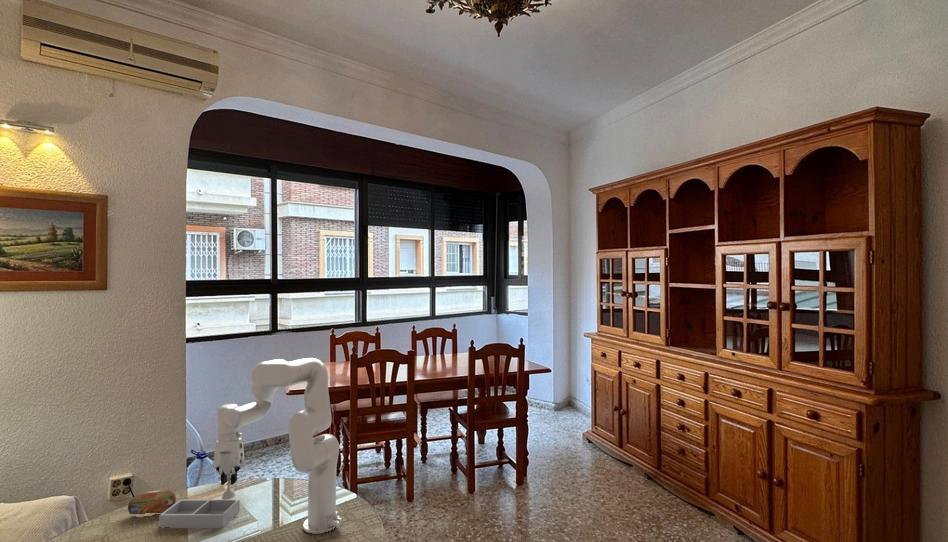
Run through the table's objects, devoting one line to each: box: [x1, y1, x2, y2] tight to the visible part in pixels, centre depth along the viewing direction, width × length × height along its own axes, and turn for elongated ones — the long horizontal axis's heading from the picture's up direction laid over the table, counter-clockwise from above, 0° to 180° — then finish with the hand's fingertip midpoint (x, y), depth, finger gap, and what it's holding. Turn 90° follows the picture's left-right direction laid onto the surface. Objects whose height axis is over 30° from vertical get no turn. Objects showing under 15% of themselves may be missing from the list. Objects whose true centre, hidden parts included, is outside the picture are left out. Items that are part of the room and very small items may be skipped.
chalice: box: [220, 453, 237, 500], centre depth 181 cm, size 7×7×18 cm
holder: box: [158, 499, 241, 529], centre depth 167 cm, size 22×12×4 cm, turn 90°
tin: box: [127, 489, 177, 515], centre depth 172 cm, size 15×3×8 cm, turn 105°
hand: (228, 483), depth 181 cm, fingers closed on chalice, 3 cm apart
